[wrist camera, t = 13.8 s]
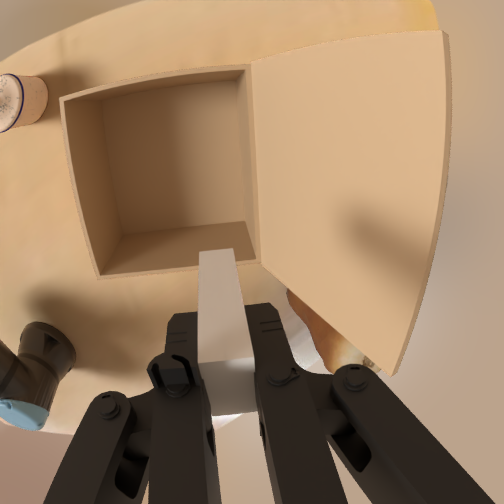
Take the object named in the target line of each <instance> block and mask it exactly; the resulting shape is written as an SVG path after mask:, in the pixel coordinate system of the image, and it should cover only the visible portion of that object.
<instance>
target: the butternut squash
mask: <svg viewBox="0 0 504 504" xmlns="http://www.w3.org/2000/svg"><path fill="white" fill-rule="evenodd" d="M286 294H287V297H288V301H289V304H290V305H291V307H292V308H293V310H294V311H295V312H296V314H297V315H298V316H299V317H300V318H301V319H302V320H303V322H304V323H305V324H306V325H307V327H308V329H309V331H310V333H311V336H312V339H313V341H314V344H315V347H316V350H317V351H318V353H319V355H320V356H321V358H322V359H323V362H324V366H325V367H326V369H327V370H328V371H329V372H331V373H333V374H334V373H335V371H336V370H337V369H339V368H340V367H342V366H344V365H347V364H361V365H364V366H367V367H368V368H370V369H371V370H372V371H374V372H375V373H377V372H379V371H380V370H381V369H380V368H379V367H378V366H377V365H376V364H375V363H374V362H372V361H371V360H370V359H369V358H368V357H367V356H365V355H364V354H363V353H362V352H361V351H360V350H359V349H357V348H356V347H355V346H354V345H353V344H352V343H350V342H349V341H348V340H347V339H346V338H345V337H344V336H342V335H341V334H340V333H339V332H338V331H337V330H336V329H334V328H333V327H332V326H331V325H330V324H329V323H327V322H326V321H325V320H324V319H323V318H322V317H321V316H319V315H318V314H317V313H316V312H315V311H314V310H313V309H311V308H310V307H309V306H308V305H307V304H306V303H304V302H303V301H302V300H301V299H300V298H299V297H298V296H296V295H295V294H294V293H293V292H292V291H291V290H290V289H288V288H287V292H286Z"/></svg>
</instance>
